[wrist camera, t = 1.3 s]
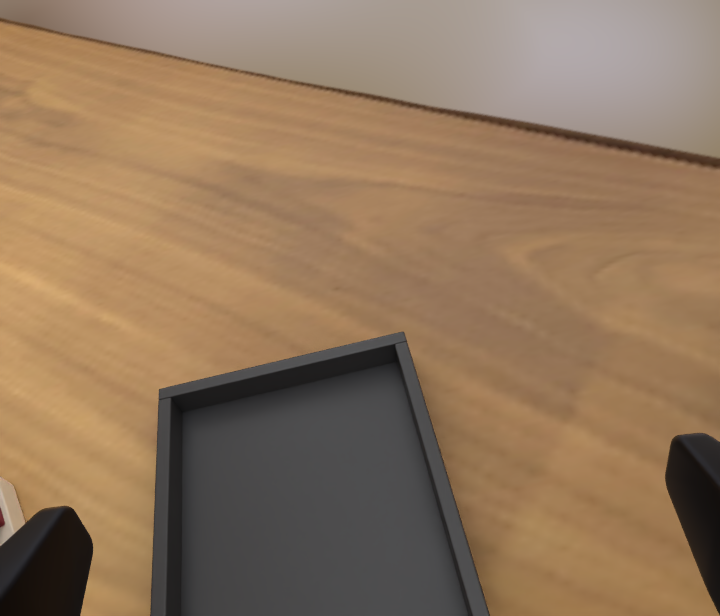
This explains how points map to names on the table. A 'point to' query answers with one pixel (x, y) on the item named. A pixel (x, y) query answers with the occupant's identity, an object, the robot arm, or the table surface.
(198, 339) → the table surface
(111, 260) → the table surface
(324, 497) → the tray
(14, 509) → the red cylinder and block
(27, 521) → the robot arm
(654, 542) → the table surface
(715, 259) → the table surface
